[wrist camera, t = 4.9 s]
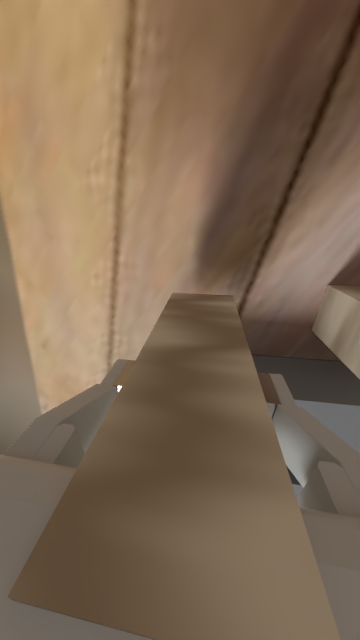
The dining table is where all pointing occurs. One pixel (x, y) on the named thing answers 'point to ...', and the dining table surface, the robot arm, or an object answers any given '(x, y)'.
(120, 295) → the dining table surface
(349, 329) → the short pin
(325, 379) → the socket block
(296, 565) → the tall pin
